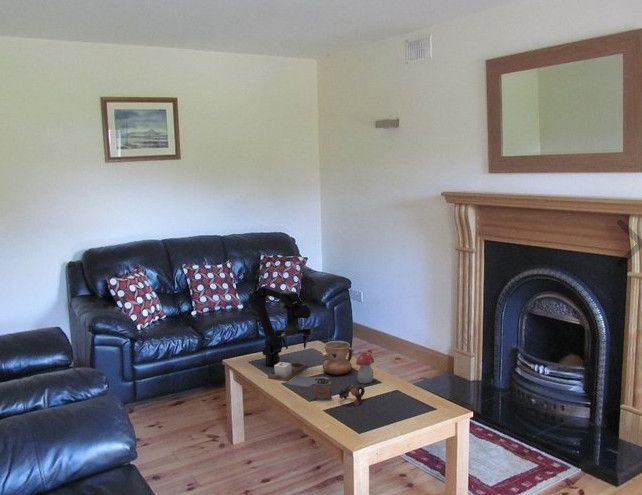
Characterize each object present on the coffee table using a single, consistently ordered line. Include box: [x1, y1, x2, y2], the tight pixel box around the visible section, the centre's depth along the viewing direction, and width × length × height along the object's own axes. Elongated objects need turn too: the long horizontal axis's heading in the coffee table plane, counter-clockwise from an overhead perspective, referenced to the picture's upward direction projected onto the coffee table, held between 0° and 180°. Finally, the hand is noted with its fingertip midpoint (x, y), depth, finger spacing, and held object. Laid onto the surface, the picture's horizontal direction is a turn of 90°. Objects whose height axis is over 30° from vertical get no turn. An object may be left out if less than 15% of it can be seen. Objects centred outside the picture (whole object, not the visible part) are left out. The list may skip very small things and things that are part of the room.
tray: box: [267, 361, 308, 382], centre depth 297 cm, size 11×20×2 cm, turn 153°
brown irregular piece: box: [338, 384, 366, 407], centre depth 261 cm, size 12×10×8 cm
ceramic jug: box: [322, 340, 354, 376], centre depth 298 cm, size 18×14×14 cm
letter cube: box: [273, 361, 292, 377], centre depth 293 cm, size 6×6×6 cm
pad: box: [285, 374, 317, 388], centre depth 286 cm, size 12×12×1 cm
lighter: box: [312, 376, 333, 402], centre depth 264 cm, size 8×3×10 cm, turn 84°
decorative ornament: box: [355, 349, 375, 385], centre depth 283 cm, size 9×6×15 cm
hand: (296, 348), depth 297 cm, fingers open, 9 cm apart
